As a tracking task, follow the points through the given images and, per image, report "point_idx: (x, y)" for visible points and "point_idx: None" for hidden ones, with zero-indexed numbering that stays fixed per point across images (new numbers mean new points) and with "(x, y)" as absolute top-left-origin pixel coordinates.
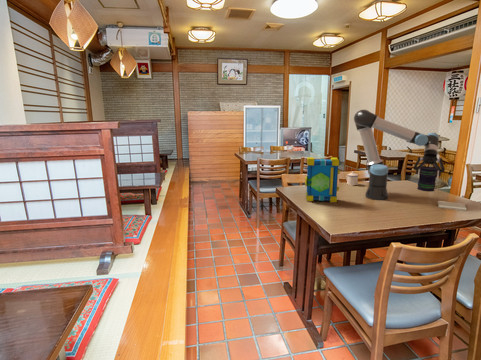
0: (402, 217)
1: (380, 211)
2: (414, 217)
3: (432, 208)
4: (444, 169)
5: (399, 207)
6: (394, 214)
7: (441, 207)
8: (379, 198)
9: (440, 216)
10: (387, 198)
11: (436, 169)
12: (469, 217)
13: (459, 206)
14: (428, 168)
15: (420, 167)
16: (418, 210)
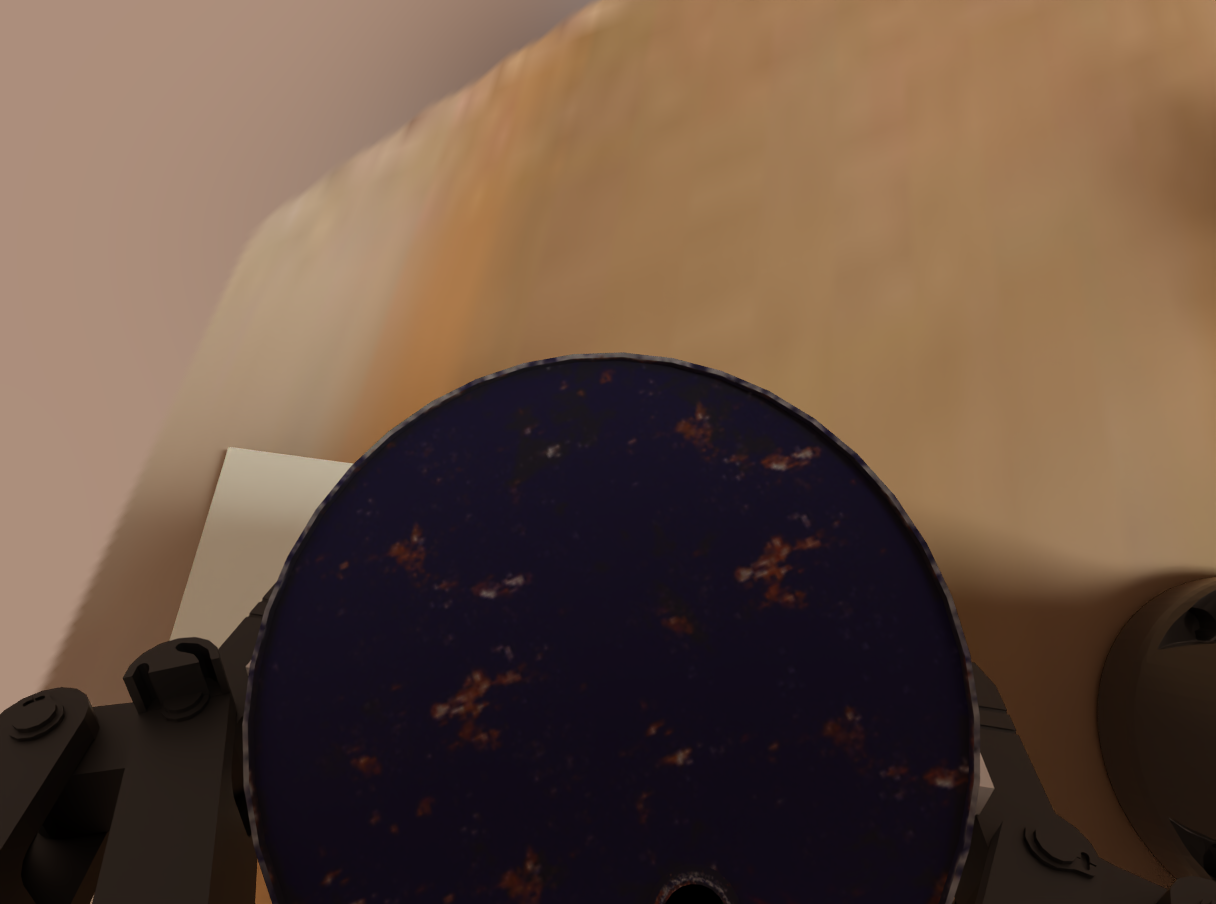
0: (878, 19)
1: (1083, 111)
2: (780, 55)
3: None
4: (11, 716)
5: (917, 322)
6: (949, 72)
7: None
8: (1213, 578)
9: (555, 165)
10: (1107, 677)
11: (367, 469)
12: (305, 230)
13: (256, 555)
14: (652, 483)
15: (966, 676)
16: (728, 283)
